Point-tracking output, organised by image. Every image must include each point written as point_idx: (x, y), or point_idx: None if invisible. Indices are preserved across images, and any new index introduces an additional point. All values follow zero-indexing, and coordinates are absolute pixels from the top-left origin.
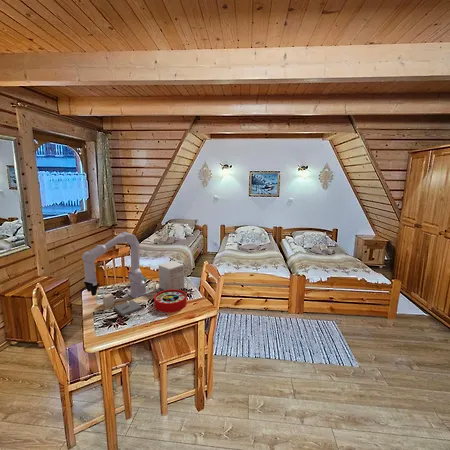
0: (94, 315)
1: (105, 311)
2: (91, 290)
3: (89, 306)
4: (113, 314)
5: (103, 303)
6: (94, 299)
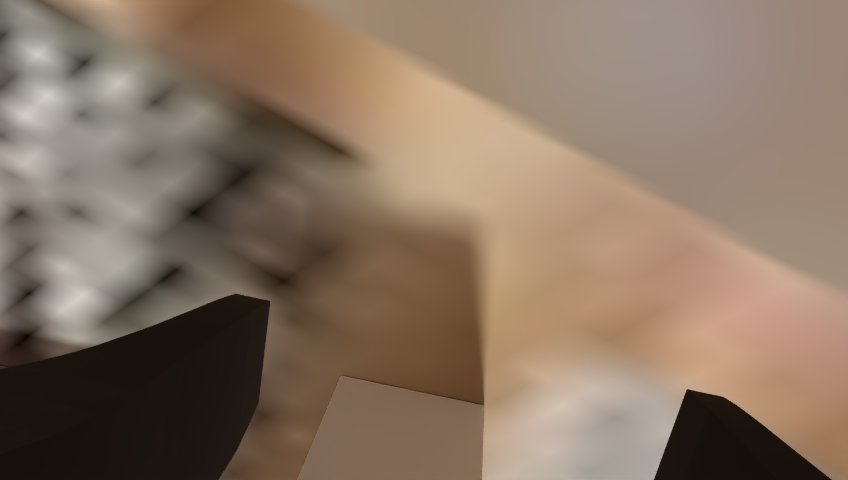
0: (213, 93)
1: (206, 283)
2: (29, 372)
3: (633, 229)
4: (14, 296)
5: (468, 415)
6: (817, 432)
